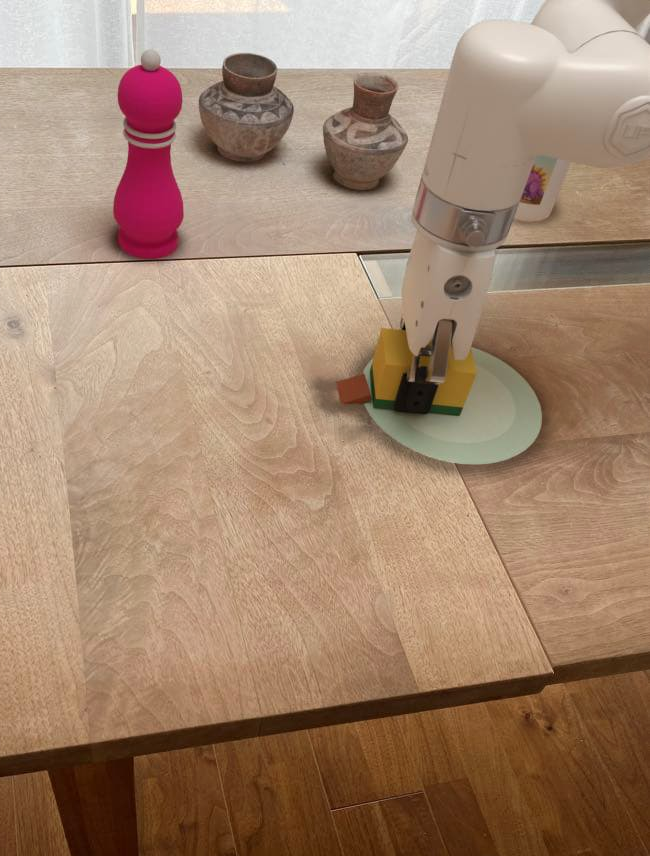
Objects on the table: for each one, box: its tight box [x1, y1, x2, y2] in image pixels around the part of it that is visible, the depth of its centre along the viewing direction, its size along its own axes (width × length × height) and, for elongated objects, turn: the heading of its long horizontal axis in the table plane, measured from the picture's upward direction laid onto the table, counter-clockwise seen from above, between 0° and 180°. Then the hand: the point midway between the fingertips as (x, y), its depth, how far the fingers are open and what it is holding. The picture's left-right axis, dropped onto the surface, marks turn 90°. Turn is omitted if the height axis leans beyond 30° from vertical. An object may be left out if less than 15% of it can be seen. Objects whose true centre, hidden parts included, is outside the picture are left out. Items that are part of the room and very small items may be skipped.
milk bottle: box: [513, 156, 572, 222], centre depth 99 cm, size 8×8×20 cm
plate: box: [362, 346, 543, 465], centre depth 83 cm, size 17×17×1 cm
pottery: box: [198, 52, 409, 191], centre depth 104 cm, size 11×25×12 cm, turn 74°
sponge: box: [370, 327, 477, 416], centre depth 80 cm, size 8×5×5 cm, turn 88°
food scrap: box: [336, 372, 372, 405], centre depth 81 cm, size 4×3×1 cm
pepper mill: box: [112, 48, 185, 260], centre depth 87 cm, size 7×7×20 cm
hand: (408, 387), depth 81 cm, fingers closed on sponge, 5 cm apart
